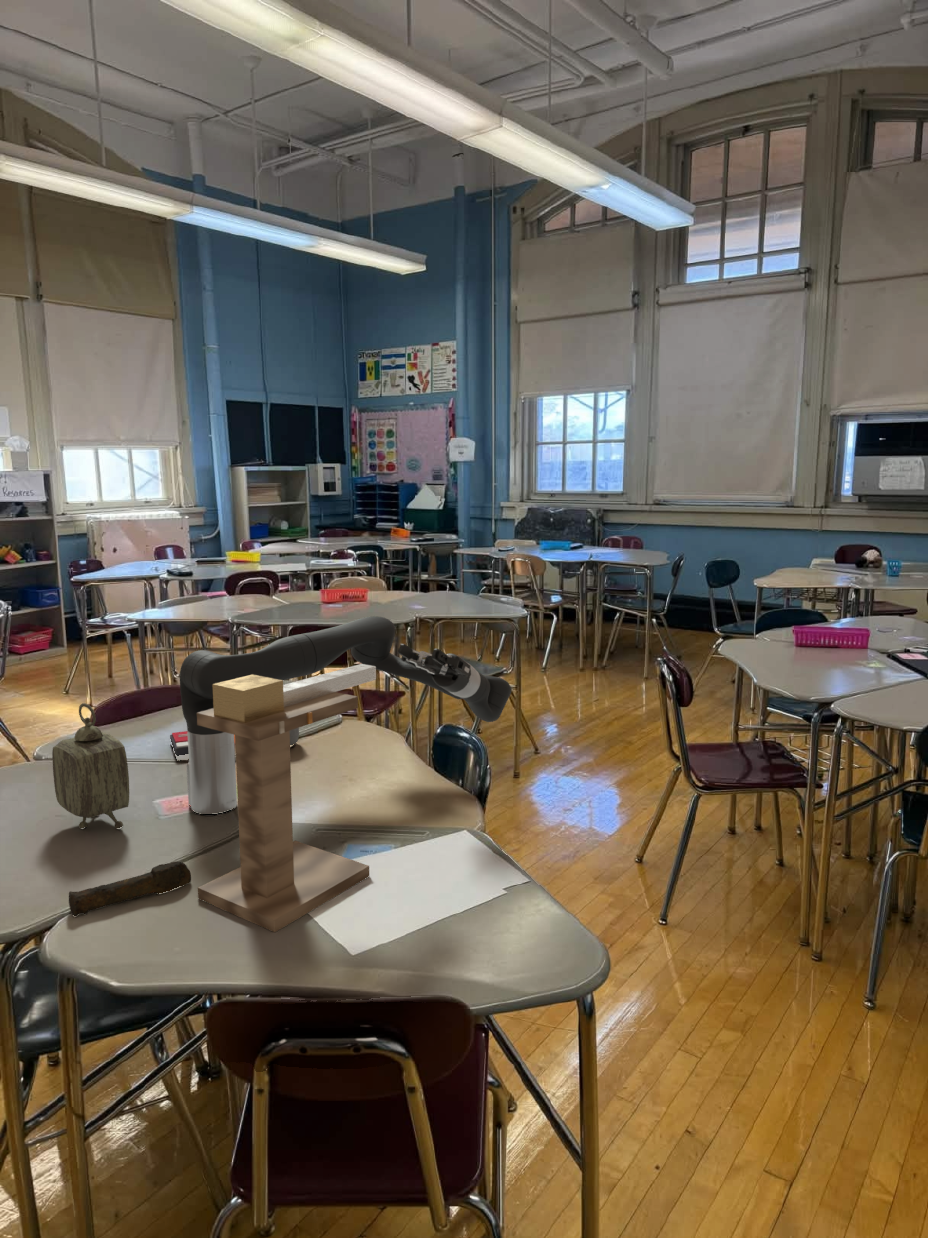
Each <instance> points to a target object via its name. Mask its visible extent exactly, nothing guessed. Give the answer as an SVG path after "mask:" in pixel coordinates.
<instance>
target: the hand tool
mask: <svg viewBox="0 0 928 1238" xmlns="http://www.w3.org/2000/svg"><path fill="white" fill-rule="evenodd" d="M191 882H192V873H191V870H190V869H189V868H188V865H187V864H186V863H184V862H182V861H171V862H169V863H161V864H158V865H156V866H154V867H152V868H151V870H150V872H146V873H144V874H140V875H137V876H133V877H129V878H125V879H122V880H118V881H114V882H111V883H108V884H107V883H106V884H101V885H98V886H94V887H90V888H89V887H88V888H86V889H83V890H79V891H69V892H68V906H69V909H70V913H71V915H74V916H77V915H78V914H79V915H84V914H86V915H87V914H88V912H91V911H95V910H98V909H101V908H104V907H108V906H112V905H115V904H119V903H123V902H126V901H130V900H134V899H137V898H140V897H144V896H146V895H152V894H155V893H158V894H159V893H163V892H166V891H170V890H172V889H174V888H177V887H179V886H182V887H184V886H186V885H189V884H190V883H191ZM183 885H184V886H183ZM79 915H78V916H79ZM78 916H77V917H78Z"/></svg>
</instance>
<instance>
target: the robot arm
mask: <svg viewBox="0 0 928 1238" xmlns="http://www.w3.org/2000/svg"><path fill="white" fill-rule="evenodd" d="M395 636H396V626H395V624H394V623H393V622H392V620H390V619H388V618H386V617H383V616H375V615H373V616H372V615H371V616H370V615H369V616H363V617H361V618H358V619H354V620H352V621H349V622H346V623H343V624H340V625H336V626H333V627H328V628H324V629H321V630H317V631H316V630H315V631H310V632H306V633H301V634H294V635H290V636H285V637H282V638H279V639H277V640H275V641H273V642H271V643H269V644H268V645H266V646H264V647H263V648H261V649H258V650H256V651H252V652H247V653H240V654H229V655H225V654H219V653H217V652H213V651H209V650H205V649H204V650H203V649H202V650H200V649H199V650H195V651H193V652H191V653H189V654H188V655H187V656H186V657H185V658H184V660H183V662H182V664H181V666H180V671H179V688H180V689H179V690H180V699H181V710H182V715H183V718H184V721H185V723H186V731H187V733H188V751H189V760H188V763H186V780H187V796H188V797H187V798H188V799H187V801H188V805H189V804H190V805H191V807H190V809H191V811H192V810H194V811H195V812H198V813H201V814H212V813H219V812H224V811H227V810H230V809H232V808H234V809H236V807H238V794H237V771H236V748H235V735H234V734H230V733H226V732H222V731H218V730H214V729H210V728H207V727H203V726H199V725H197V713H198V712H201V711H205V710H209V709H212V708H214V706H213V684H216V683H220V682H224V681H228V680H232V679H236V678H240V677H244V676H248V675H252V674H253V675H258V676H263V677H268V678H273V679H278V680H283V681H287V680H291V679H297V678H301V677H305V676H309V675H312V674H315V673H316V674H317V672H320V671H321V670H323V669H325V668H326V667H327V666H329V665H330V664H331V663H333V662H334V661H335V660H336V659H337V658H339V657H340V656H342V655H343V654H344V653H346V652H347V651H349V650H350V653H351V656H352V657H353V659H354V660H356V661H357V662H358V663H360V664H365V665H371V666H376V671H377V670H378V671H381V672H384V673H388V674H391V675H393V676H397V677H401V678H405V679H408V680H412V681H415V682H416V683H417V682H418V683H421V684H423V685H426V686H428V687H431V688H433V690H434V689H435V690H437V691H439V692H441V693H442V694H446V695H447V696H449V697H452V698H454V699H457V700H463V701H465V702H466V704H467V705H468V707H469V709H470V710H471V712H472V713H473V714H474V715H475V716H476V717H477V718H478V719H479V720H481V721H483V722H486V723H493V722H495V721H497V720H498V719H499V718H500V717H501V715H502V714H503V711H504V709H505V707H506V705H507V703H508V700H509V699H510V696H511V694H512V686H511V685H510V683H509V682H508V681H507V680H506V679H504V678H501V677H497V676H493V675H492V676H491V675H485V674H483V673H481V672H480V671H478V670H477V669H476V668H475V667H474V666H472V664H470V663H468V662H467V661H465V660H464V659H463V658H462V657H460V656H459V655H457V654H455V653H445V652H443V651H442V650H440V649H439V648H434V649H433V650H432V653H430V652H427V651H425V650H420V651H418V650H415V649H413V648H412V647H410V646H408V645H407V644H405V643H400V644H399V648H398V651H397V653H398V655H399V656H401V657H399V656H397V655H395V654H393V653H392V652H391V650H392V647H393V644H394V640H395ZM424 656H426V657H425V658H423V657H424Z"/></svg>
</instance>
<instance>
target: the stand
mask: <svg viewBox="0 0 928 1238" xmlns="http://www.w3.org/2000/svg"><path fill="white" fill-rule="evenodd" d="M358 699H359V698H358V696H357V695H352V694H347V693H342V692H338V691H336V692H333V693H330V694H326V695H323V696H320V697H316V698H313V699H310V700H306V701H303V702H300V703H296V704H293V705H290V706H286V707H284V711H283V712H280V713H276V714H273V715H270V716H267V717H263V718H260V719H257V720H253V721H250V722H247V723H242V722H238V721H234V720H230V719H226V718H222V717H217V716H214V708H212V709H209V710H205V711H201V712H198V713H197V725H199V726H203V727H207V728H210V729H214V730H218V731H222V732H226V733H230V734H234V743H235V766H236V791H237V809H238V810H237V814H238V817H237V818H238V835H239V836H238V839H239V861H240V867H237V868H235V869H233V870H231V871H229V872H227V873H225V874H223V875H221V876H218V877H217V878H215V879H213V880H210V881H208V882H207V883H204V884H202V885H200V886H198V887H197V899H198V898H199V899H198V900H200V899H201V900H200V901H202V900H204V901H206V902H208V903H207V904H209V903H210V904H209V905H211V904H212V905H211V906H213V905H214V907H216V908H218V909H221V910H223V911H224V912H225V911H226V912H228V913H229V914H231V915H234V916H237V917H239V918H241V919H243V920H245V921H248V922H250V923H253V924H255V925H257V926H259V927H262V928H264V929H266V930H269V931H271V932H273V933H276V932H278V931H280V930H281V929H284V928H285V927H287V926H288V925H290V924H292V923H294V922H295V921H297V920H298V919H301V918H302V917H303V916H306V915H307V914H309V913H310V912H312V911H314V910H315V909H317V908H319V907H320V906H322V905H324V904H326V903H327V902H329V901H331V900H332V899H334V898H335V897H338V896H339V895H340V894H341V895H342V893H344V892H346V891H347V890H349V889H351V888H353V887H355V886H356V885H357V884H359V883H361V882H362V880H363V881H365V880H366V879H367V877H368V876H369V877H370V865H368V864H365V863H362V862H359V861H356V860H353V859H350V858H347V857H344V856H341V855H339V854H336V853H333V852H330V851H328V850H325V849H321V848H318V847H315V846H312V845H309V844H307V843H303V842H301V841H297V840H294V839H293V838H294V836H293V835H294V833H293V832H294V831H293V828H294V827H293V804H292V803H293V802H292V799H293V797H292V769H291V768H292V767H291V766H292V765H291V748H290V733H289V731H290V730H293V729H296V728H299V729H300V728H302V727H305V726H309V725H311V724H313V723H317V722H319V721H323V720H325V719H329V718H332V717H335V716H339V715H341V714H344V713H346V712H350V711H353V710H357V709H358V708H359V700H358ZM369 877H368V878H369ZM365 878H366V879H365ZM360 881H361V882H360ZM352 886H353V887H352ZM204 901H203V902H204ZM206 902H205V903H206Z"/></svg>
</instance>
